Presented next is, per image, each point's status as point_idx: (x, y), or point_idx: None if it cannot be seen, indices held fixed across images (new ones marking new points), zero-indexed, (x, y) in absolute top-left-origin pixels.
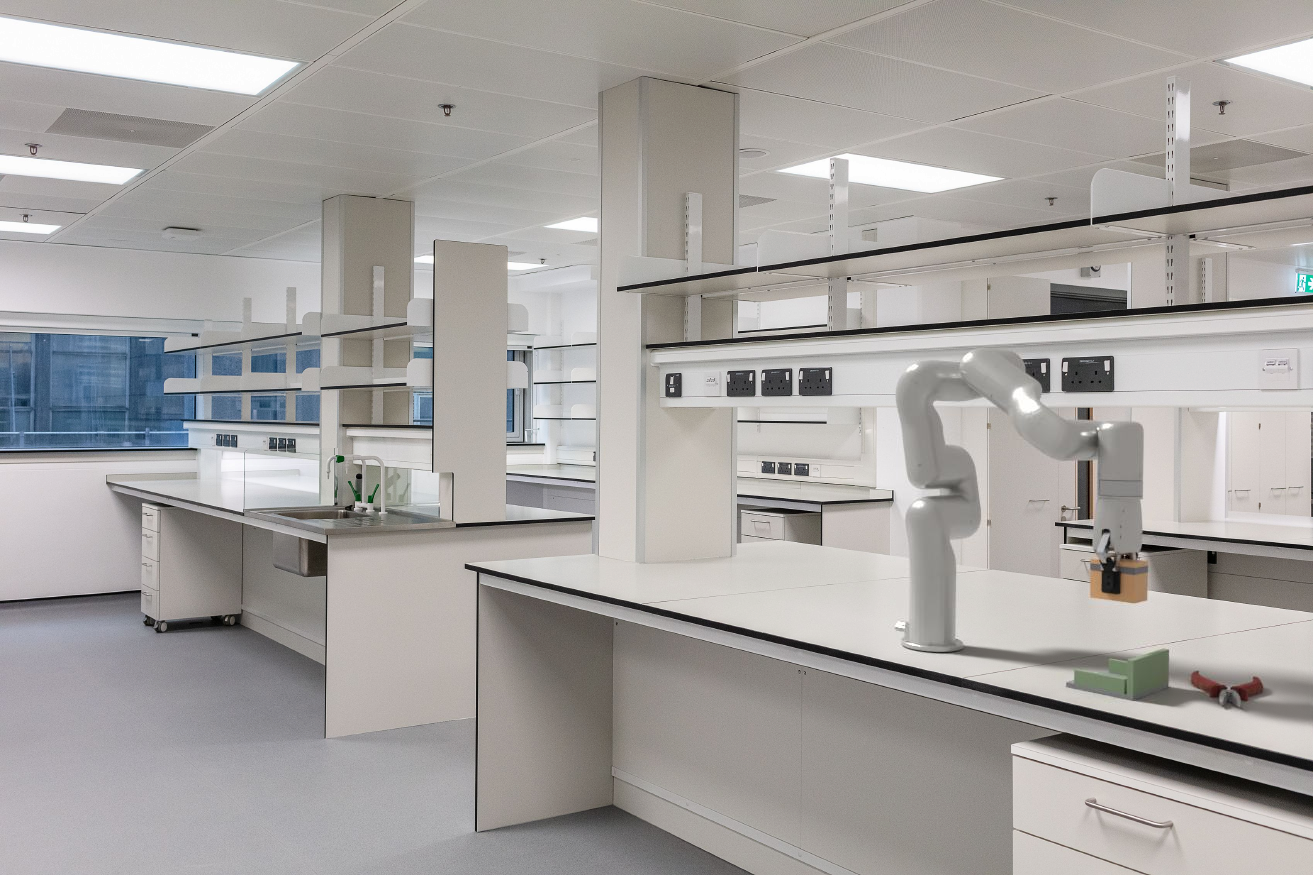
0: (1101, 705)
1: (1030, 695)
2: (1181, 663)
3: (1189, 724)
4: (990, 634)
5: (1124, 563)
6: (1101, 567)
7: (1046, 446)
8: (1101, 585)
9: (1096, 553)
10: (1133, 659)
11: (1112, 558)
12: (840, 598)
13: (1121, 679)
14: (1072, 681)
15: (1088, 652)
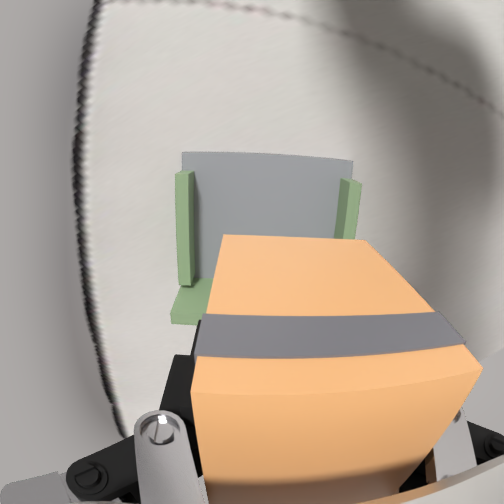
0: (113, 260)
1: (75, 147)
2: (500, 235)
3: (134, 371)
4: None
5: None
6: (135, 429)
7: None
8: (195, 336)
9: (2, 490)
10: (184, 319)
11: (377, 458)
12: None
13: (178, 278)
14: (198, 158)
15: (489, 86)
